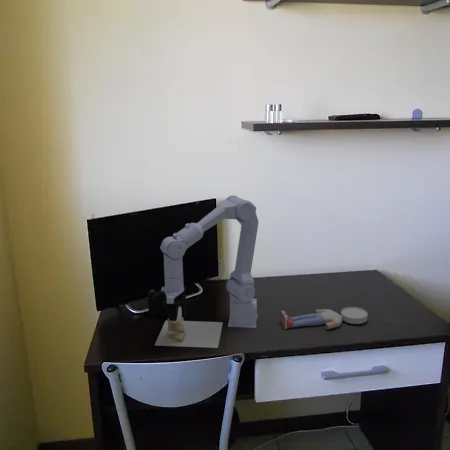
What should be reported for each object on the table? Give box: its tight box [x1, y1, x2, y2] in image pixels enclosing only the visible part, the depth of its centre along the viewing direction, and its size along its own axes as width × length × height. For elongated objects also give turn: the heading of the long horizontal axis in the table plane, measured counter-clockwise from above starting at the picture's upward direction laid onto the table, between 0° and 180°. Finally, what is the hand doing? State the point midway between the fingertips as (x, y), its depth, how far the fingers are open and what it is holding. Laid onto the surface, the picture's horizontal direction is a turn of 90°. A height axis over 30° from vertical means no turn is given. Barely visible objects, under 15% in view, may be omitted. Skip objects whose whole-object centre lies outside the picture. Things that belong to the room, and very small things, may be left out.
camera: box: [147, 289, 187, 319], centre depth 175 cm, size 14×11×10 cm
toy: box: [280, 306, 369, 330], centre depth 167 cm, size 6×13×30 cm
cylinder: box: [169, 306, 182, 324], centre depth 155 cm, size 4×4×4 cm
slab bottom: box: [167, 326, 185, 342], centre depth 157 cm, size 5×5×3 cm
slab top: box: [167, 317, 185, 334], centre depth 156 cm, size 5×5×3 cm
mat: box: [154, 319, 224, 349], centre depth 160 cm, size 20×17×1 cm
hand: (175, 315), depth 155 cm, fingers open, 7 cm apart
